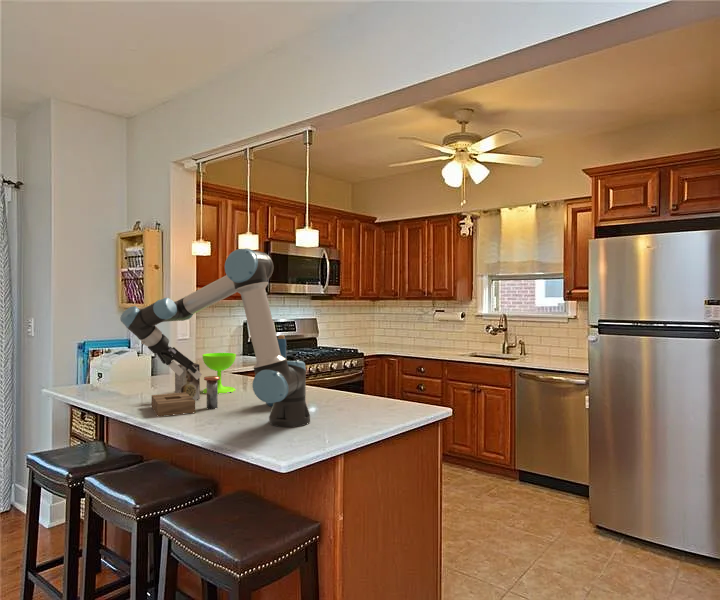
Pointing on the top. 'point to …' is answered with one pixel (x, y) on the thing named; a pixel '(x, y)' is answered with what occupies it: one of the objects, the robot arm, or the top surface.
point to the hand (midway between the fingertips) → (190, 375)
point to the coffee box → (188, 383)
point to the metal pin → (212, 391)
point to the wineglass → (219, 367)
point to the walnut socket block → (173, 404)
